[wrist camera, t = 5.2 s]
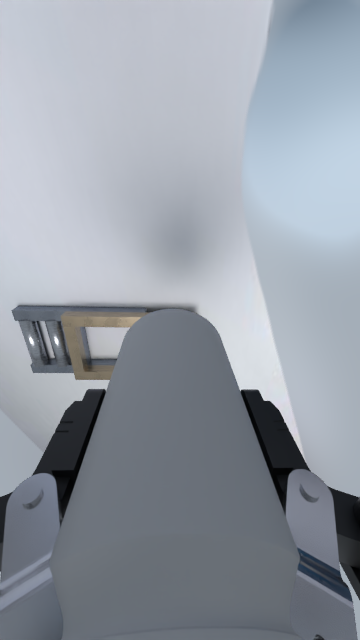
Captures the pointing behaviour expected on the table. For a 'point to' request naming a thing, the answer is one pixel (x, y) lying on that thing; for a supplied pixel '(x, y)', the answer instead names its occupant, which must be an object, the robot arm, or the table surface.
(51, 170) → the table surface
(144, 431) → the beverage can
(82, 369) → the frame
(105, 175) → the table surface
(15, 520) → the robot arm
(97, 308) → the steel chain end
